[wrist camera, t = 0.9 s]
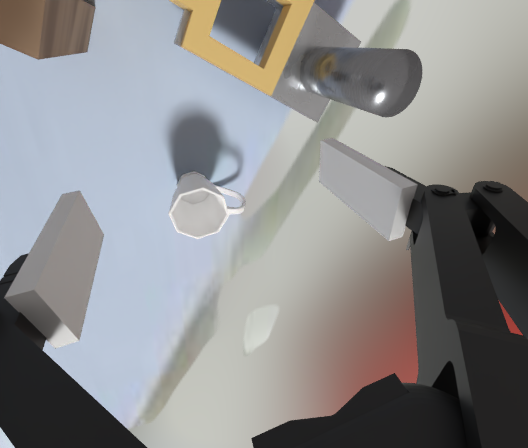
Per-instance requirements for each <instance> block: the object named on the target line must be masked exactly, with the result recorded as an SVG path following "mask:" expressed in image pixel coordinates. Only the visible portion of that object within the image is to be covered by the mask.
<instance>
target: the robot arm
mask: <svg viewBox="0 0 528 448" xmlns="http://www.w3.org/2000/svg"><path fill="white" fill-rule="evenodd" d="M319 182H320V183H321V184H322V185H323V186H325V187H326V188H327V189H328V190H329V191H331V192H332V193H333V194H334V195H335V196H336V197H338V198H339V199H340V200H341V201H342V202H344V203H345V204H346V205H347V206H348V207H349V208H350V209H352V210H353V211H354V212H355V213H356V214H358V215H359V216H360V217H361V218H362V219H363V220H365V221H366V222H367V223H368V224H369V225H370V226H372V227H373V228H374V229H375V230H377V231H378V232H379V233H380V234H381V235H382V236H384V237H385V238H386V239H387V240H388V241H391V240H394V239H397V238H400V237H403V233H404V230H405V227H406V226H407V227H408V228H409V229H411V230H412V232H411V235H410V238H409V242H408V245H407V248H406V250H409V248H410V247H411V262H412V276H413V291H414V306H415V321H416V336H417V351H418V364H419V366H418V367H419V370H418V378H417V383H416V384H415V383H401V381H400V380H399V378H398V377H397V376H396V374H395V373H394V374H392V375H389V376H387V377H385V378H383V379H381V380H378V381H376V382H374V383H372V384H370V385H367V386H365V387H363V388H362V389H361V390H360V391H359V392H358V393H357V394H356V395H355V396H354V397H353V398H351V399H350V400H349V401H348V402H347V403H346V404H345V405H344V406H343V407H342V408H341V409H340V410H339V411H338V412H337V413H336V414H334V415H332V416H325V417H317V418H309V419H300V420H292V421H288V422H286V423H284V424H282V425H279V426H277V427H275V428H273V429H271V430H268V431H266V432H264V433H262V434H260V435H257V436H255V437H253V438H252V443H253V447H254V448H528V202H527V201H526V200H524V199H523V198H522V197H520V196H519V195H518V194H517V193H516V192H514V191H513V190H512V189H511V188H509V187H507V186H506V185H503V184H500V183H498V182H494V181H481V182H477V183H475V185H474V187H473V190H472V192H471V193H459V192H458V191H457V190H455V189H453V188H451V187H448V186H444V185H429V186H427V187H426V186H425V185H423V184H421V183H419V182H417V181H415V180H413V179H411V178H409V177H407V176H406V175H404V174H402V173H400V172H398V171H397V170H395V169H393V168H390V167H386V166H383V165H381V164H379V163H377V162H376V161H374V160H372V159H370V158H368V157H366V156H365V155H363V154H361V153H359V152H357V151H355V150H354V149H352V148H350V147H348V146H346V145H344V144H343V143H341V142H339V141H337V140H335V139H334V138H329V139H324V140H321V149H320V171H319ZM494 227H496V232H495V235H494V233H493V232H492V231H493V229H494ZM103 237H104V234H103V232H102V230H101V228H100V227H99V225H98V223H97V221H96V219H95V217H94V216H93V214H92V212H91V210H90V208H89V207H88V205H87V203H86V201H85V199H84V197H83V196H82V194H81V192H80V191H75V192H70V193H66V194H62V196H61V197H60V199H59V201H58V203H57V204H56V206H55V208H54V210H53V212H52V213H51V215H50V217H49V219H48V221H47V222H46V224H45V226H44V228H43V229H42V231H41V233H40V235H39V237H38V238H37V240H36V242H35V244H34V245H33V247H32V249H31V251H30V253H29V254H25V255H21V256H20V257H19V258H18V259H17V260H15V261H14V262H13V263H12V264H11V265H10V266H9V268H8V269H7V271H6V272H5V274H4V277H3V278H2V279H1V281H0V427H1V429H2V430H3V432H4V433H5V434H6V436H7V437H8V438H9V440H10V441H11V443H12V444H13V445H14V447H15V448H147V447H146V446H145V445H144V444H143V443H142V442H141V441H139V440H138V439H137V438H136V437H135V436H134V435H133V434H132V433H131V432H130V431H129V430H128V429H127V428H125V427H124V426H123V425H122V424H121V423H120V422H119V421H118V420H117V419H116V418H115V417H114V416H113V415H111V414H110V413H109V412H108V411H107V410H106V409H105V408H104V407H103V406H102V405H101V404H100V403H99V402H97V401H96V400H95V399H94V398H93V397H92V396H91V395H90V394H89V393H88V392H87V391H86V390H85V389H83V388H82V387H81V386H80V385H79V384H78V383H77V382H76V381H75V380H74V379H73V378H72V377H71V376H69V375H68V374H67V373H66V372H65V371H64V370H63V369H62V368H61V367H60V366H59V365H58V364H57V363H56V362H54V361H53V360H52V359H51V358H50V357H49V356H48V355H47V354H46V353H45V352H44V351H43V347H44V344H45V341H46V340H47V341H48V342H49V343H50V344H51V345H52V346H53V347H54V348H55V349H56V348H59V347H62V346H65V345H68V344H71V343H74V342H77V341H79V340H80V336H81V332H82V327H83V323H84V319H85V314H86V310H87V306H88V301H89V297H90V293H91V289H92V284H93V280H94V276H95V271H96V267H97V263H98V259H99V254H100V250H101V246H102V241H103ZM498 300H499V301H500V302H501V304H502V305H503V307H504V308H505V310H506V311H507V312H508V314H509V315H510V317H511V318H512V320H513V321H514V323H515V324H516V325H517V327H518V328H519V330H520V331H521V333H522V334H523V336H522V335H518V334H514V333H510V331H509V329H508V326H507V323H506V320H505V318H504V315H503V312H502V309H501V307H500V304H499V301H498Z"/></svg>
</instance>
